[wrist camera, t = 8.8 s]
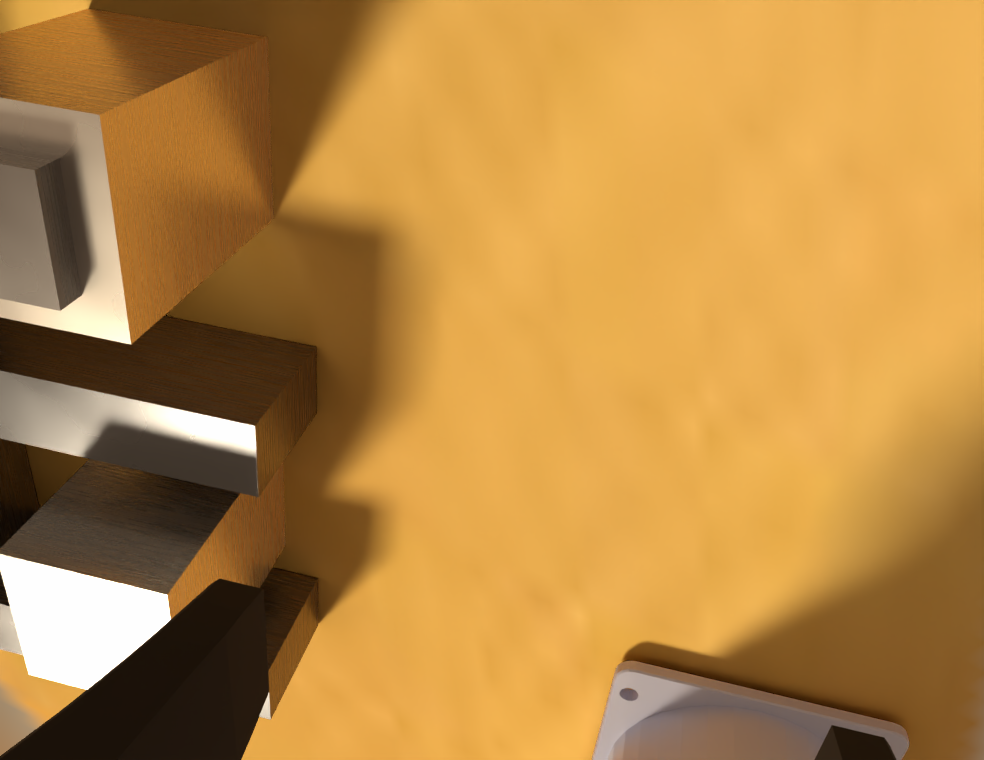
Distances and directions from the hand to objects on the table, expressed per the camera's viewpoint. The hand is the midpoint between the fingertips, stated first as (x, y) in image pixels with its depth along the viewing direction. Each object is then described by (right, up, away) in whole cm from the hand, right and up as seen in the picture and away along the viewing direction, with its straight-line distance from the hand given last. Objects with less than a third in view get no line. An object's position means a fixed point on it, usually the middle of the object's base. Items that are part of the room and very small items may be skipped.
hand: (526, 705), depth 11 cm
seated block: (-8, +1, +14) cm, 16 cm away
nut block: (-7, +10, +8) cm, 15 cm away
